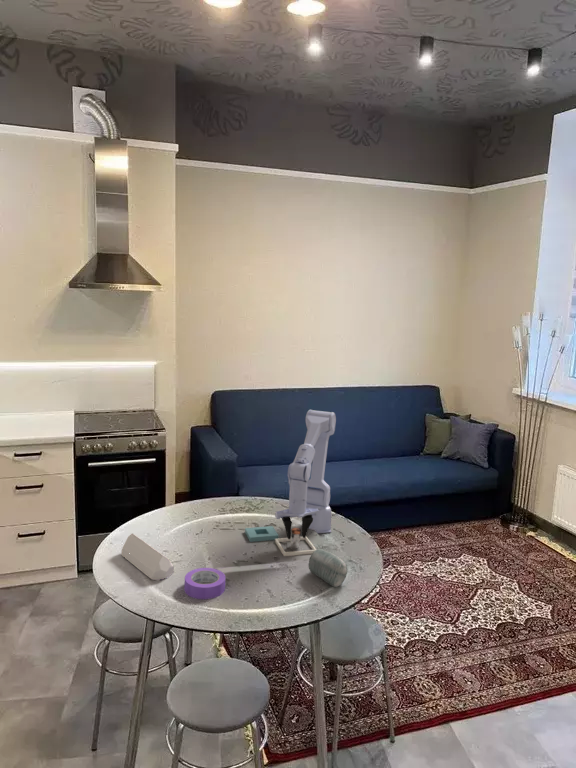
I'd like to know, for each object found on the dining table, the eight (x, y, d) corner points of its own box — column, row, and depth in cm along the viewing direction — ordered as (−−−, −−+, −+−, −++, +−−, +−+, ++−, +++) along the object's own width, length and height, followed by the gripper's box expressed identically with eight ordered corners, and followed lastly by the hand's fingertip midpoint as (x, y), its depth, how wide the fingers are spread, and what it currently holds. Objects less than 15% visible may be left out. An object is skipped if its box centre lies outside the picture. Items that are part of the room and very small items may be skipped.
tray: (306, 542, 202) (306, 536, 202) (316, 557, 192) (317, 550, 191) (274, 545, 199) (275, 538, 199) (283, 560, 189) (284, 553, 188)
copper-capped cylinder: (296, 546, 197) (298, 527, 196) (300, 550, 195) (302, 531, 194) (288, 547, 196) (290, 528, 195) (292, 552, 194) (294, 532, 192)
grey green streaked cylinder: (297, 562, 180) (315, 536, 179) (317, 569, 186) (335, 544, 185) (319, 593, 169) (338, 565, 168) (340, 598, 175) (359, 572, 174)
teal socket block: (272, 534, 208) (272, 526, 208) (278, 543, 201) (278, 535, 200) (244, 536, 206) (245, 528, 205) (249, 545, 198) (250, 537, 198)
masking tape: (230, 582, 173) (230, 570, 173) (217, 602, 162) (217, 589, 162) (193, 576, 176) (193, 565, 175) (177, 596, 165) (177, 583, 164)
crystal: (112, 544, 186) (149, 573, 169) (130, 529, 190) (168, 556, 172) (123, 560, 190) (160, 590, 172) (141, 545, 193) (179, 573, 176)
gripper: (280, 504, 187) (278, 544, 189) (322, 501, 191) (320, 540, 193) (274, 496, 193) (272, 535, 195) (315, 493, 197) (313, 531, 200)
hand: (296, 537), depth 195 cm, fingers open, 5 cm apart
